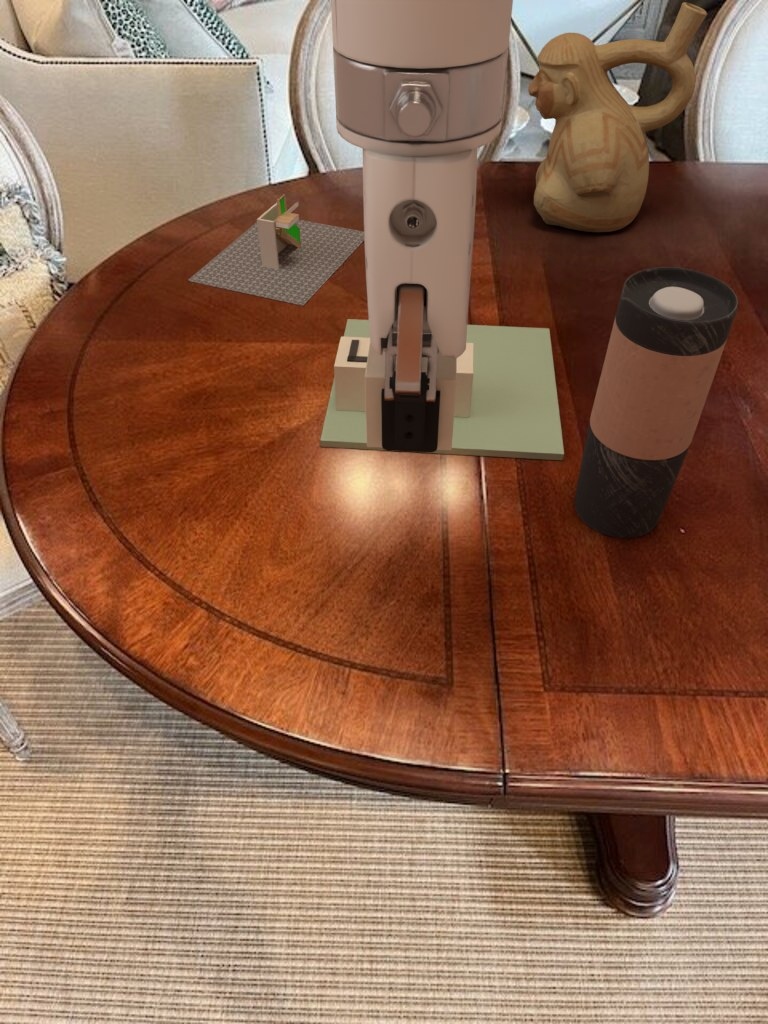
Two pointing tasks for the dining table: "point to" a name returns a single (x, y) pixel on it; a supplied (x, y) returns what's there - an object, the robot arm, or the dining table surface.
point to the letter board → (484, 398)
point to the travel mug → (651, 396)
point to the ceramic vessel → (604, 124)
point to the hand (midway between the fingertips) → (412, 415)
